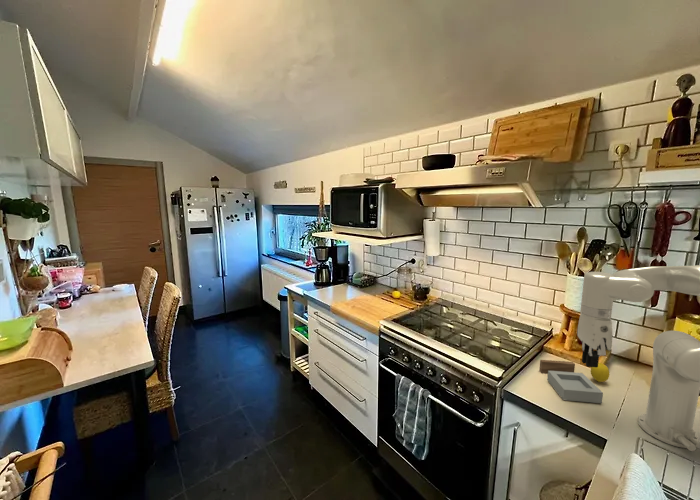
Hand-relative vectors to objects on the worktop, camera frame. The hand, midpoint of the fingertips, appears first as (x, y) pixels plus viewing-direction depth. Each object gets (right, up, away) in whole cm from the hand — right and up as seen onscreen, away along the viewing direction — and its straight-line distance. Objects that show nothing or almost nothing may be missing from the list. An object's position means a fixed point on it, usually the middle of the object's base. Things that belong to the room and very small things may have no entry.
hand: (589, 364), depth 95 cm
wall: (+7, -13, +25) cm, 29 cm away
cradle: (+4, -15, +13) cm, 20 cm away
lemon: (+19, -14, +18) cm, 30 cm away
